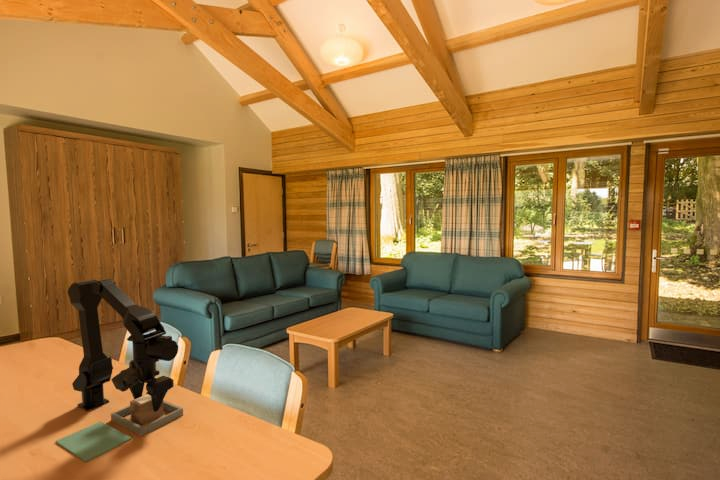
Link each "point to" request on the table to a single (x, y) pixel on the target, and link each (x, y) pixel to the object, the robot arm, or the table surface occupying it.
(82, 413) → the table surface
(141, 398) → the walnut block
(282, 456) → the table surface
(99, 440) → the mat
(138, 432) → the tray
